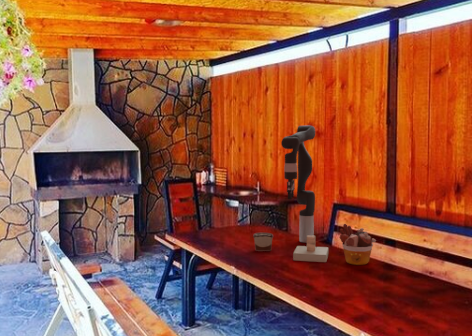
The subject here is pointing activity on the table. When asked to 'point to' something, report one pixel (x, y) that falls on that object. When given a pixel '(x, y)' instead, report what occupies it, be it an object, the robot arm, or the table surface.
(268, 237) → the food container
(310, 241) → the birch block
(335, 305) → the table surface
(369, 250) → the bucket of meat
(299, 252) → the base board
